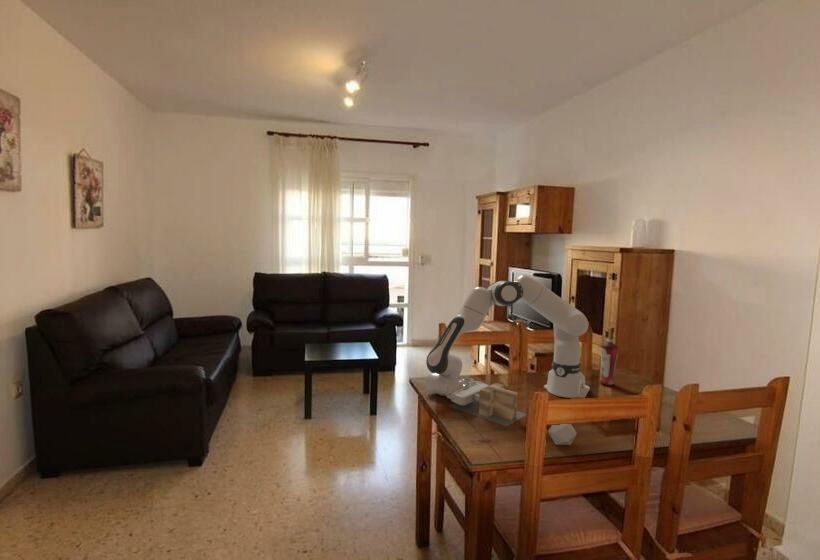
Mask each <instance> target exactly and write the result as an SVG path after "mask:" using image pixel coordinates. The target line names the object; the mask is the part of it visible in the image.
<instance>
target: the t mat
mask: <svg viewBox="0 0 820 560" xmlns="http://www.w3.org/2000/svg"><path fill="white" fill-rule="evenodd" d="M448 408H451V409H455V410H456V411H457V410H458V411H460V412H462V413H463V412H464V413H466V414H469V415H472V416H475V417H479V418H480V419H484V420H486V421H490V422H493V423H496V424H499V425H501V426H504V427H509V426H510V425H513V424H514V423H515V422H517V421H519V420H520V419H522V418H524V417H526V416H528V413H524V412H522V411H518V410H517V412H516V418H515V419H513V420H508V419H505V418H502V417H499V416H496V415H491V416H489V417H485V416H482V415H479V401H478V400H475V401H473V402H471V403H469V404H466V405H459V404H457V403H454V402H453V404H449V405H448Z"/></svg>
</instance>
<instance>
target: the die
mask: <svg viewBox="0 0 820 560" xmlns="http://www.w3.org/2000/svg"><path fill="white" fill-rule="evenodd" d="M547 433H548V434H549V436H550V437H551V439H552V441H553V443H554V444H556V446H571V445H572V443H573V442H574V439H575V438H576V436H577V432H576V429H575V428H574V426H573V425H572V423H571V424H560V425H552V424H551V425H550V428H549V429H548V432H547Z"/></svg>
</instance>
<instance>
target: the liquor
mask: <svg viewBox="0 0 820 560" xmlns="http://www.w3.org/2000/svg"><path fill="white" fill-rule="evenodd" d="M607 327H608V328H607V332H608V333H607V339H606V342H605V343H602V344H601V352H600V356H601V357H600V375H599V377H600V378H599V380H598V381H599V382H600V384H601V383H602V385H603V384H605V385H604V386H606V385H611V386H613V385H614V384H615V381H614V380H615V372H616V364H617V359H618V349H619V346H618V344H617V345H616V344H615V343H614V333H615V327H614V326H607Z"/></svg>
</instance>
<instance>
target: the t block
mask: <svg viewBox="0 0 820 560" xmlns="http://www.w3.org/2000/svg"><path fill="white" fill-rule="evenodd" d="M517 411H518V392H516V391H513V390H509V389H506V388H505V385H504V384H501V383H499V382H494V383H492V384H490V385H489V386H488V387H485V388H483V389H481V390H480V400H479V415H482V416H485V417H489V416H491V415H496V416H499V417H502V418H505V419H508V420H513V419H515V418H516V412H517Z"/></svg>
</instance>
